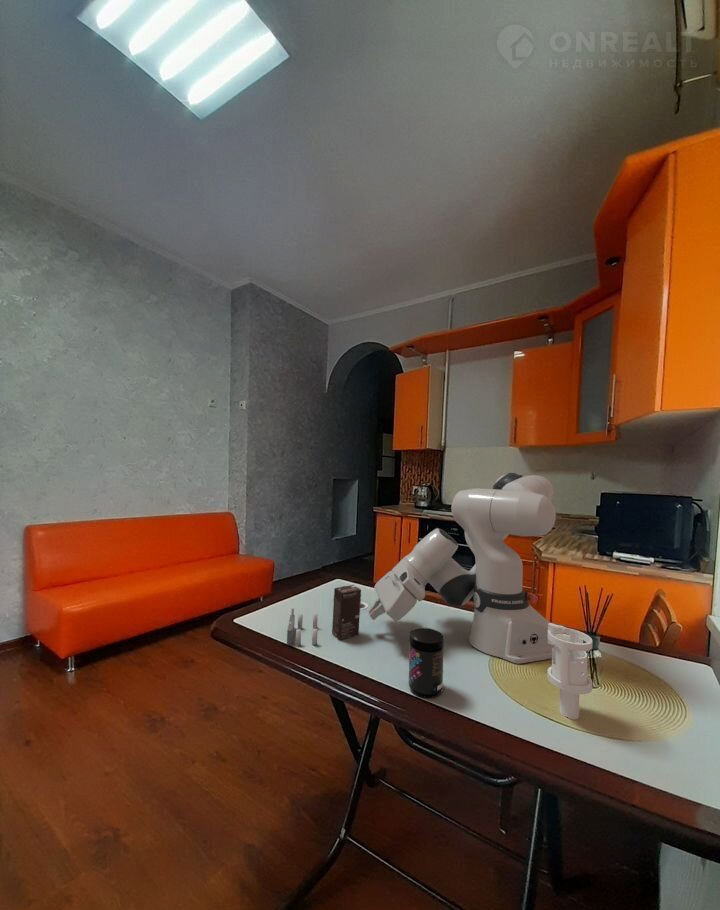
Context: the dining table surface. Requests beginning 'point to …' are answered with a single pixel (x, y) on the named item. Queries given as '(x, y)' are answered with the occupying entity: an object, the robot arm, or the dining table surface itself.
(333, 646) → the dining table surface
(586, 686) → the white plastic upright piece
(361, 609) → the teacup and saucer
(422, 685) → the supplement container
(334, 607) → the box
